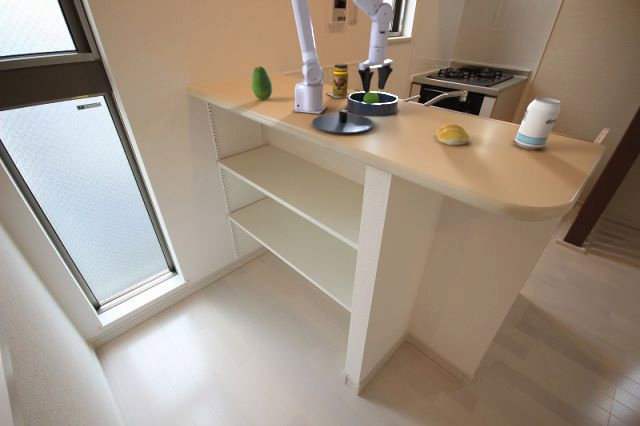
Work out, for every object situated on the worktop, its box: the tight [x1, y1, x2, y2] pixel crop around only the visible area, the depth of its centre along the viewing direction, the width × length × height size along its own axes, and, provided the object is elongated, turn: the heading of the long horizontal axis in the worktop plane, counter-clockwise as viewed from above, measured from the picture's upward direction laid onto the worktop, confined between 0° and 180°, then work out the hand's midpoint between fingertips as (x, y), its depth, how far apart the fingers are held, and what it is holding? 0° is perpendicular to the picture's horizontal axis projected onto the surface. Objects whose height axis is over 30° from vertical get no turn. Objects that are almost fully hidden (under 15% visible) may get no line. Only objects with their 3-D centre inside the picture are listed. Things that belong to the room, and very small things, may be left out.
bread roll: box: [436, 123, 470, 146], centre depth 83 cm, size 8×9×4 cm
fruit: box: [251, 65, 273, 101], centre depth 115 cm, size 8×8×12 cm
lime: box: [363, 91, 379, 104], centre depth 108 cm, size 6×6×6 cm
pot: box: [346, 91, 399, 117], centre depth 109 cm, size 18×18×4 cm
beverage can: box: [514, 97, 562, 150], centre depth 78 cm, size 7×7×12 cm
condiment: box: [327, 63, 349, 99], centre depth 123 cm, size 7×8×12 cm
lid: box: [312, 109, 374, 135], centre depth 92 cm, size 19×19×4 cm
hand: (373, 90), depth 106 cm, fingers open, 7 cm apart
